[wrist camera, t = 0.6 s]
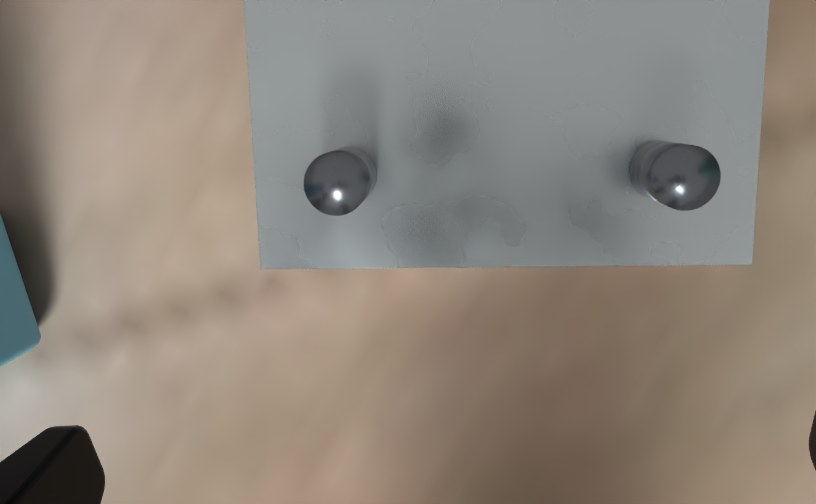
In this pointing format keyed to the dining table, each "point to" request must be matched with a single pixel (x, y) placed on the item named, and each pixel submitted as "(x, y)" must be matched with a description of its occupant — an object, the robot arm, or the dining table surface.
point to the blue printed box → (14, 306)
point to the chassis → (505, 132)
